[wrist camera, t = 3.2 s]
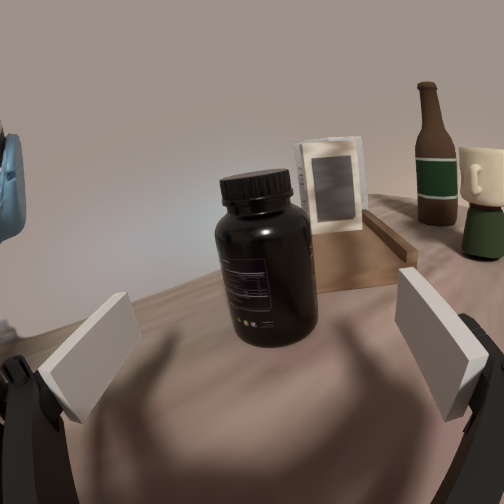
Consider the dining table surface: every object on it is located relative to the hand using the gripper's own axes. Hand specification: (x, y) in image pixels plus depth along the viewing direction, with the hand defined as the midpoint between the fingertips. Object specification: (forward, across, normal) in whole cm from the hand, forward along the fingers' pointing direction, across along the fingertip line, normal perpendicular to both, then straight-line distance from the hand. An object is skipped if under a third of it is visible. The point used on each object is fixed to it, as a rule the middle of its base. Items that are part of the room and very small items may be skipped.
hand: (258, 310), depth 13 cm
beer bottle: (+35, +28, -7) cm, 45 cm away
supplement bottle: (+9, 0, -7) cm, 11 cm away
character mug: (+18, +26, -7) cm, 32 cm away
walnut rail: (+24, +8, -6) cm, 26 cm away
